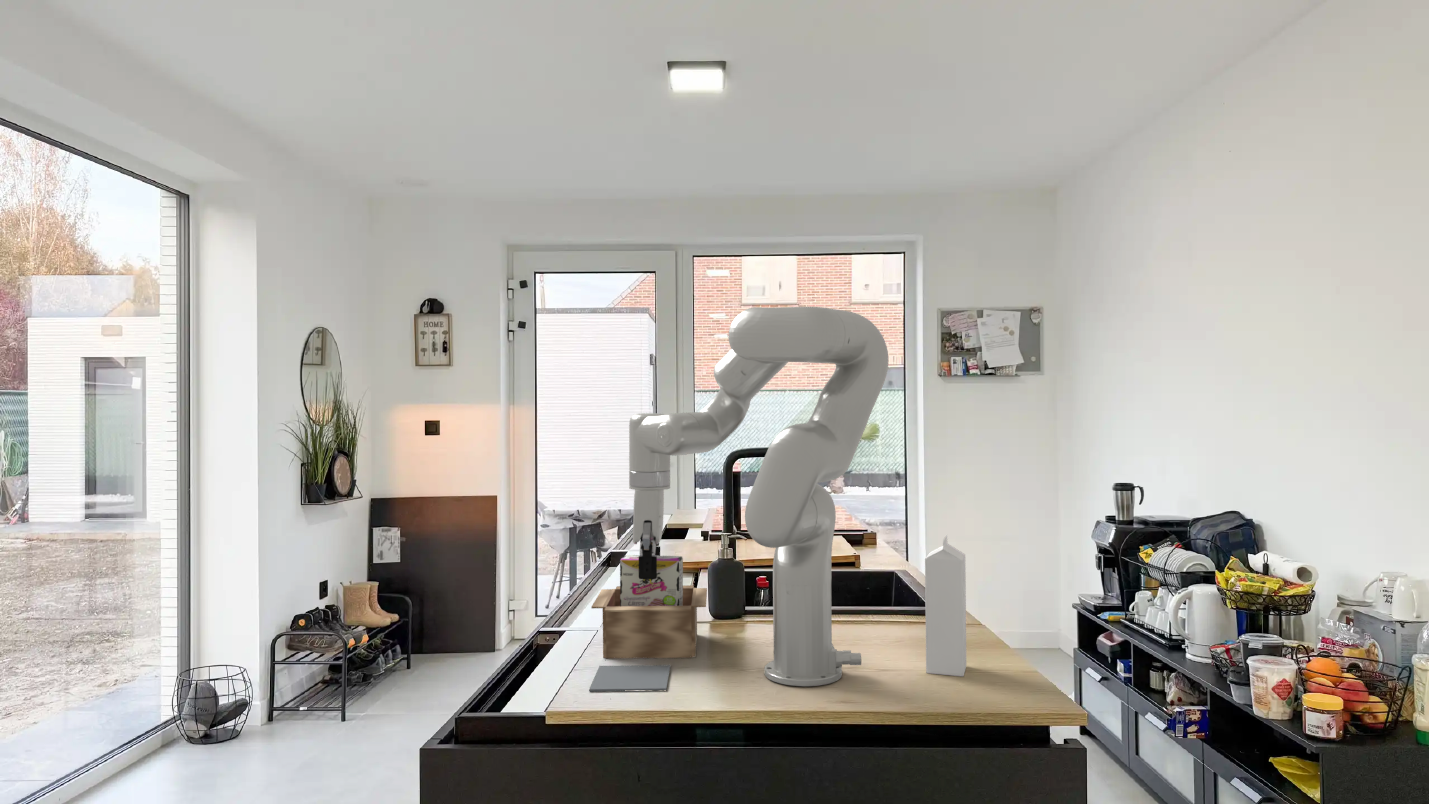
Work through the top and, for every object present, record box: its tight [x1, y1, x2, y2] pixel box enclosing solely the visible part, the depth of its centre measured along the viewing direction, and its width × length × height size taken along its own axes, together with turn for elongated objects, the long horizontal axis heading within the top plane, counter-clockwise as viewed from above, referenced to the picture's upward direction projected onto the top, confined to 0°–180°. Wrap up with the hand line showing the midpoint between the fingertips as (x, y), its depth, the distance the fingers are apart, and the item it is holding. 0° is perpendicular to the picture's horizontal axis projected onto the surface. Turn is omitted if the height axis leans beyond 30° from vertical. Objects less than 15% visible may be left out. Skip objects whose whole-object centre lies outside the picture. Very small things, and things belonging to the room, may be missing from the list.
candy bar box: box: [619, 554, 684, 606], centre depth 162 cm, size 11×5×16 cm, turn 84°
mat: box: [588, 664, 671, 693], centre depth 143 cm, size 12×12×1 cm
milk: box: [924, 534, 967, 677], centre depth 146 cm, size 6×6×22 cm
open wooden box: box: [591, 584, 708, 660], centre depth 162 cm, size 20×19×9 cm
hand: (649, 573), depth 162 cm, fingers open, 9 cm apart
